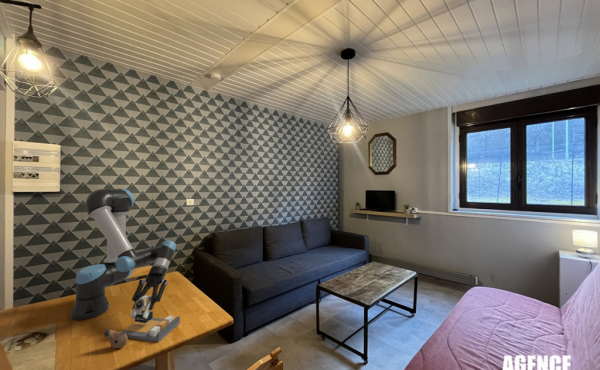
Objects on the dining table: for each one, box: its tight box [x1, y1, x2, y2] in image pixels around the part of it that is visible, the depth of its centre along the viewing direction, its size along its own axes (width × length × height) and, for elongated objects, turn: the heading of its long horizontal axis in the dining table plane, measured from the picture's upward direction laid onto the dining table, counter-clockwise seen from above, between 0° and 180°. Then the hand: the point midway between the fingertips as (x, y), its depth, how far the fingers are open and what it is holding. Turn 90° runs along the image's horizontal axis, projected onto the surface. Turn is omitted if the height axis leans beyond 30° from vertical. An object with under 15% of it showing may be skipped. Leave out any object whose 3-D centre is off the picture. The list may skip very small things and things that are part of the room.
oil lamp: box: [103, 328, 129, 349], centre depth 100 cm, size 9×4×8 cm, turn 100°
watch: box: [133, 294, 154, 323], centre depth 113 cm, size 6×8×11 cm
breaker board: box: [122, 315, 181, 343], centre depth 112 cm, size 20×14×4 cm
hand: (138, 317), depth 109 cm, fingers closed on watch, 5 cm apart
